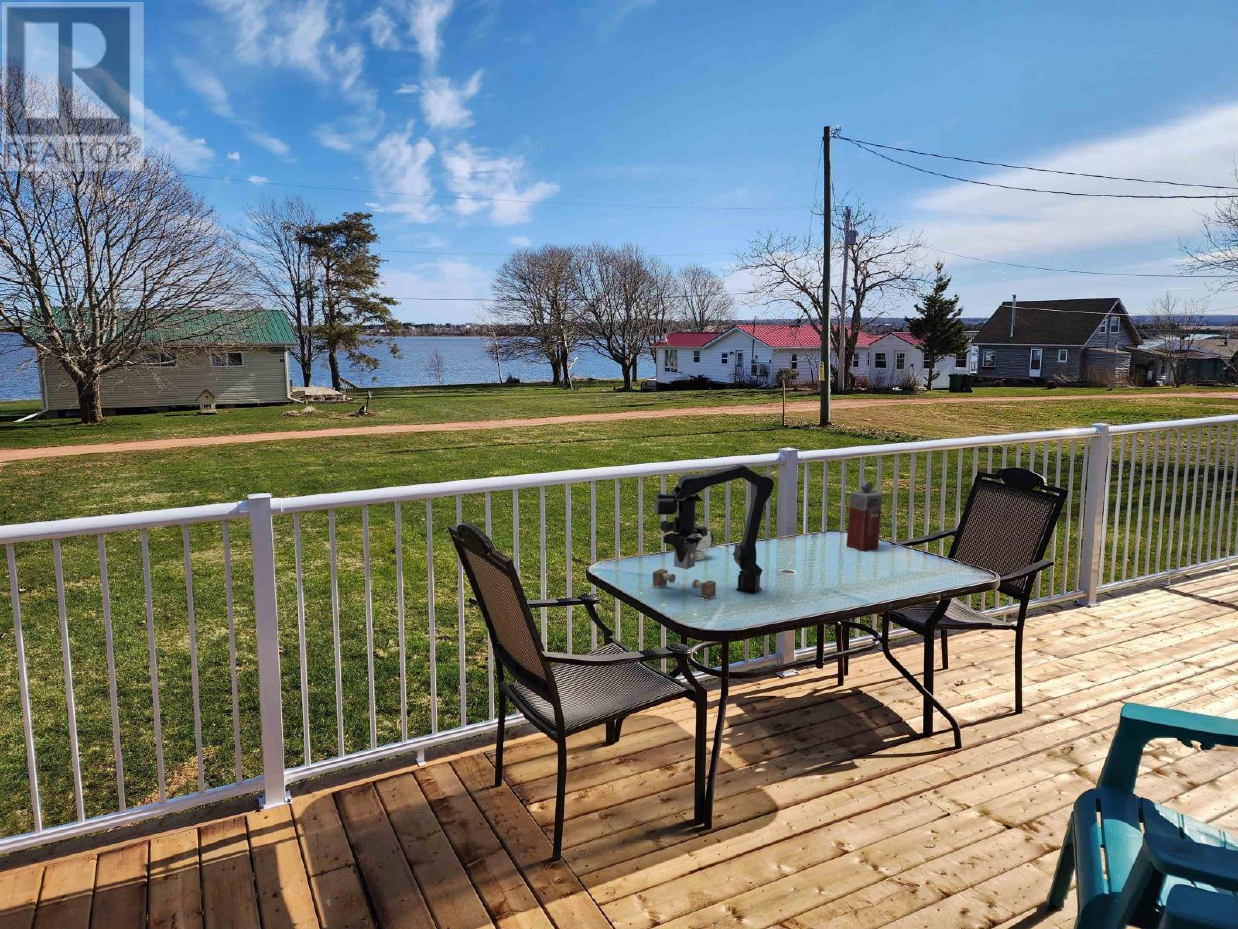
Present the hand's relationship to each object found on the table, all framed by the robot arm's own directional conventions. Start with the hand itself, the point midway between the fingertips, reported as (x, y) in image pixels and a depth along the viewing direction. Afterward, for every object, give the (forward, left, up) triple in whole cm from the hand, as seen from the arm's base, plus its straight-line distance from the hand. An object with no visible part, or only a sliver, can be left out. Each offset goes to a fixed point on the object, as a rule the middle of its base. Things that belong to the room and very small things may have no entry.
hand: (684, 560), depth 255 cm
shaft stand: (0, 0, -11) cm, 11 cm away
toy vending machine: (-27, -96, -11) cm, 100 cm away
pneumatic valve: (+16, -36, -11) cm, 41 cm away
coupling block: (0, 0, -2) cm, 2 cm away
